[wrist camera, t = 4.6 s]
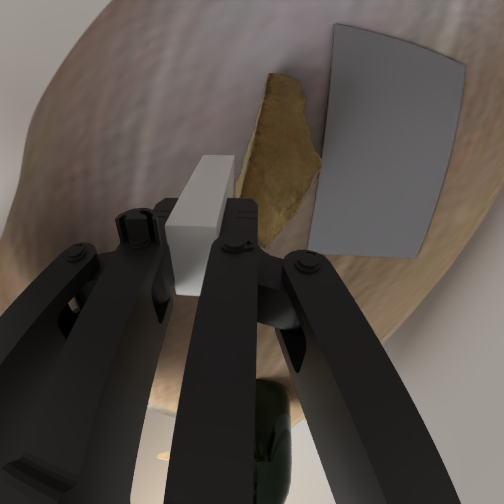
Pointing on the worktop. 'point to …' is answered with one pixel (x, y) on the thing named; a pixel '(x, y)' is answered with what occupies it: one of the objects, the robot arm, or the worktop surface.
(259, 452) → the dark green wine bottle
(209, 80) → the worktop surface
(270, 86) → the yellow wedge
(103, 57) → the worktop surface
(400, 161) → the mat
